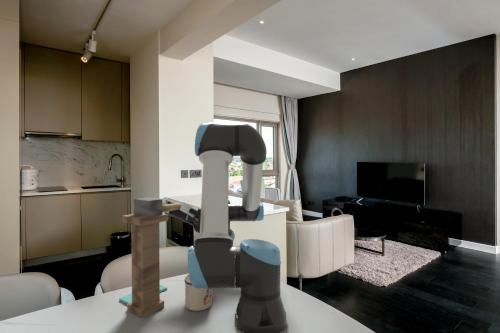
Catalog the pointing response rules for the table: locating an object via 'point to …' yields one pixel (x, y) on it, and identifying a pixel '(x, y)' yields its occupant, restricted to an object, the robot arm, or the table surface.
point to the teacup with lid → (196, 296)
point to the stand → (145, 263)
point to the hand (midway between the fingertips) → (168, 204)
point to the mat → (128, 299)
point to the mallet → (152, 207)
